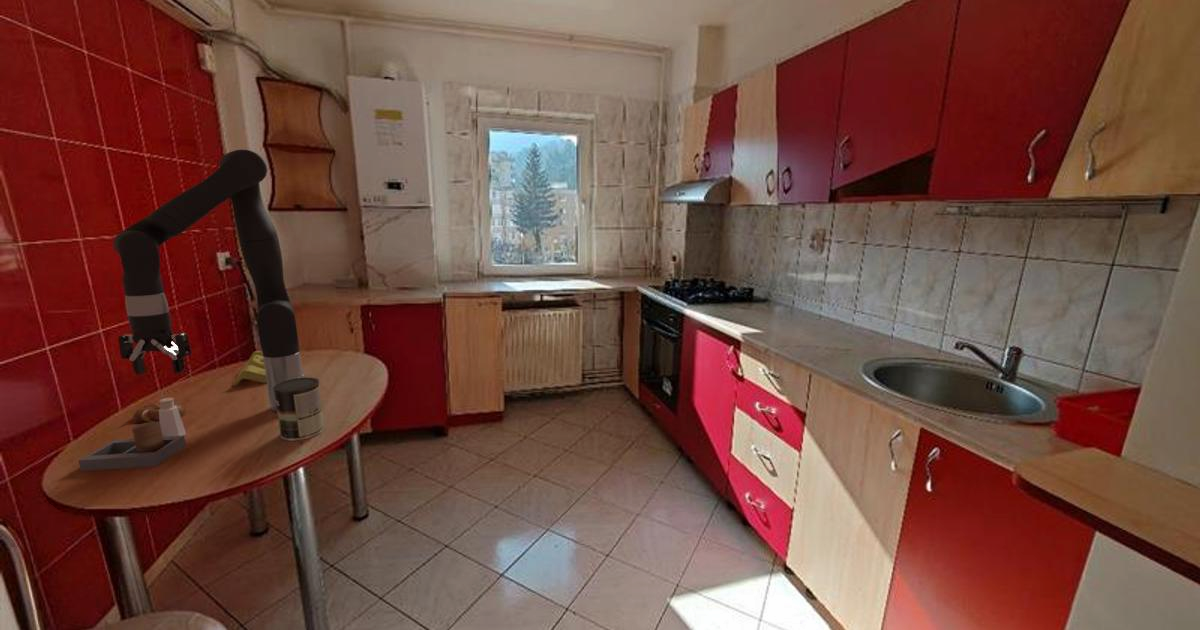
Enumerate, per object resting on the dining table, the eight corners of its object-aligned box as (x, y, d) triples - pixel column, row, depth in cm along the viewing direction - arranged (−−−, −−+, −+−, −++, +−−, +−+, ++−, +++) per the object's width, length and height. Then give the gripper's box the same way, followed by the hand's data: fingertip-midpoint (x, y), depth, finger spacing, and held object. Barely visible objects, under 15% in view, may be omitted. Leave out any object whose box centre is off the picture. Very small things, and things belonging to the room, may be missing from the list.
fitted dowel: (171, 450, 115) (165, 421, 113) (156, 460, 110) (149, 430, 109) (149, 452, 114) (142, 422, 112) (133, 462, 110) (126, 431, 108)
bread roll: (198, 410, 141) (196, 399, 140) (163, 426, 130) (161, 414, 129) (159, 409, 141) (157, 397, 140) (122, 425, 130) (119, 412, 130)
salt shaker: (156, 444, 120) (147, 404, 117) (165, 435, 124) (157, 397, 122) (182, 440, 122) (175, 401, 119) (190, 431, 127) (183, 394, 124)
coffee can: (276, 444, 121) (268, 393, 117) (285, 427, 130) (278, 380, 127) (322, 437, 125) (315, 387, 121) (327, 421, 134) (321, 375, 131)
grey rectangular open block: (186, 448, 118) (184, 435, 117) (156, 469, 108) (153, 455, 108) (118, 452, 116) (115, 439, 115) (81, 474, 106) (78, 460, 105)
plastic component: (272, 376, 162) (239, 368, 157) (264, 395, 163) (230, 387, 158) (281, 357, 179) (251, 349, 174) (274, 373, 180) (244, 366, 175)
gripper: (191, 308, 120) (201, 367, 124) (128, 309, 118) (140, 369, 122) (169, 314, 113) (181, 377, 117) (102, 315, 111) (116, 379, 114)
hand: (160, 373), depth 119 cm, fingers open, 8 cm apart
